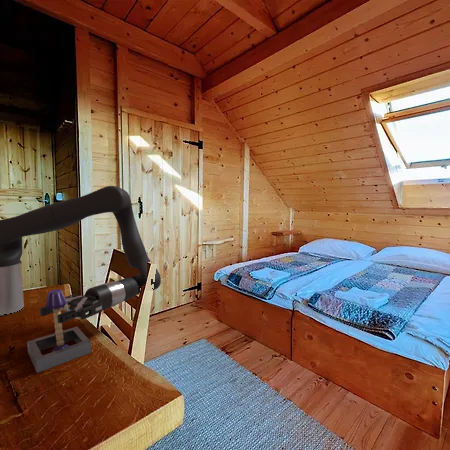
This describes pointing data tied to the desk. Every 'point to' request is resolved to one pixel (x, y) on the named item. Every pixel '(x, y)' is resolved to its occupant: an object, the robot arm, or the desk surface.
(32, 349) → the square frame
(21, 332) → the desk surface
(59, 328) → the toy lamp
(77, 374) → the desk surface
